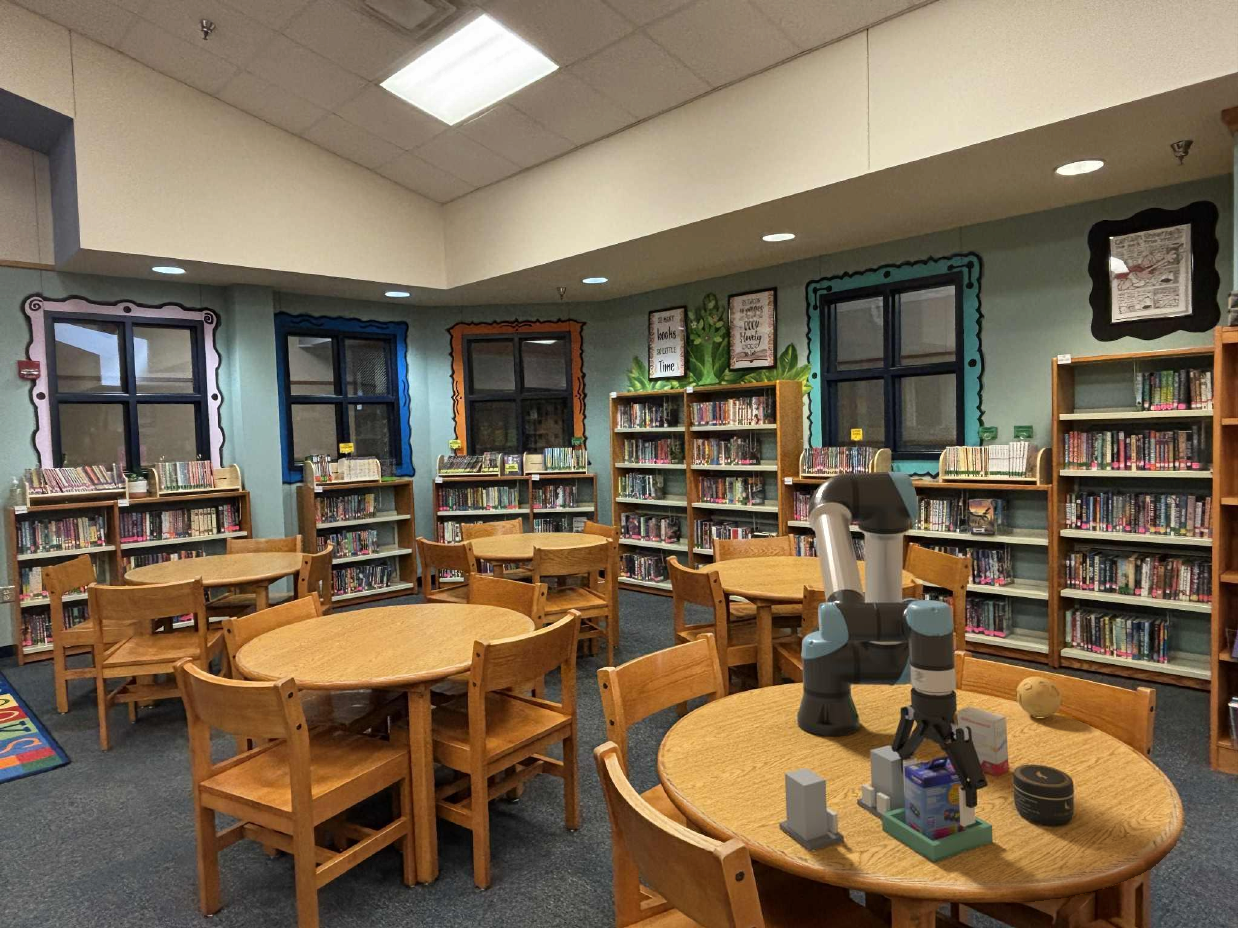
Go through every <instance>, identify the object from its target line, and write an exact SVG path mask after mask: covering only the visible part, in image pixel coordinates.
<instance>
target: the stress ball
mask: <svg viewBox="0 0 1238 928" xmlns="http://www.w3.org/2000/svg"><path fill="white" fill-rule="evenodd" d="M1015 698H1016V700H1017V702H1018V704H1019V706H1020V707H1021V708H1022V710H1023V711H1024V712H1026V713H1027V714H1029V715H1031V716H1032V717H1033V716H1035V717H1045V718H1048V717H1051V716H1054V715H1055V714H1056V713H1057V712H1058V711H1059V710H1060V708H1061V705H1063V699H1062V695H1061V692H1060V690H1059V688H1058V686H1057V685H1056V684H1055V683H1054V682H1052V681H1051V680H1050V679H1047V678H1045V677H1042V676H1030V677H1027V678H1025V679H1023V680H1022V681H1020V683H1019V684H1018V686H1017V688H1016V690H1015ZM1035 717H1034V718H1035Z"/></svg>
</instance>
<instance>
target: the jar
mask: <svg viewBox="0 0 1238 928" xmlns="http://www.w3.org/2000/svg"><path fill="white" fill-rule="evenodd" d="M1012 786H1013V803H1014V806H1015V809H1016V810H1017V812H1018V814H1019V815H1020V816H1021V817H1022V818H1024V819H1025V820H1027V821H1028V822H1032V823H1034V824H1036V825H1040V826H1044V827H1057V828H1058V827H1063V826H1066V825H1068V824H1069V823H1070V822H1071V821H1072V820H1073V818H1074V813H1075V800H1074V799H1075V798H1074V797H1075V796H1074V794H1075V787H1074V781H1073V778H1072V777H1071V776H1070V775H1069V774H1068V773H1066V772H1064V771H1063V770H1060V769H1057V768H1055V767H1052V766H1049V765H1048V766H1047V765H1044V764H1043V765H1041V764H1023V765H1019V766H1016V767H1015V768H1014V770H1013V772H1012Z"/></svg>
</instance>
